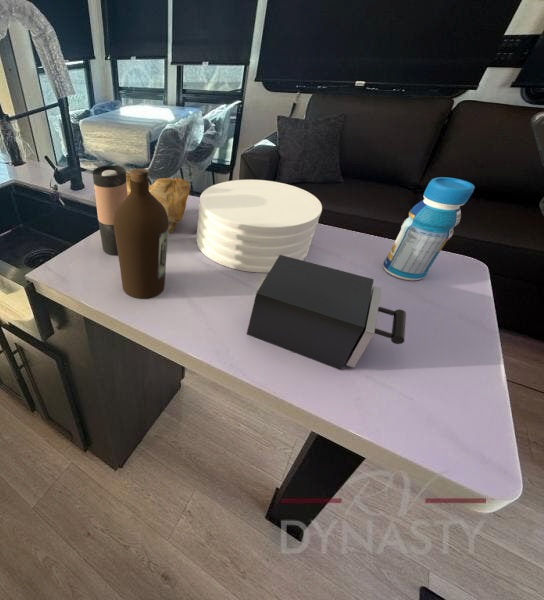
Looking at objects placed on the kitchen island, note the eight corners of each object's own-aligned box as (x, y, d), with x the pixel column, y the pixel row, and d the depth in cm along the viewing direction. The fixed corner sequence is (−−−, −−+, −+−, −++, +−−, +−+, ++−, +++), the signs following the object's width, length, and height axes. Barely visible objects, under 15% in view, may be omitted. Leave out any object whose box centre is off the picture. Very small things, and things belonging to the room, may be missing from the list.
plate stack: (332, 263, 77) (350, 217, 70) (220, 280, 73) (227, 234, 66) (272, 213, 99) (281, 175, 91) (183, 225, 95) (185, 185, 87)
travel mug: (136, 245, 87) (132, 168, 74) (120, 259, 82) (112, 178, 69) (113, 238, 90) (105, 163, 77) (96, 251, 85) (84, 173, 72)
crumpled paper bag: (208, 224, 96) (214, 171, 88) (176, 243, 85) (179, 185, 77) (146, 208, 108) (146, 160, 100) (111, 223, 97) (108, 170, 89)
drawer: (390, 330, 59) (412, 296, 54) (385, 379, 51) (409, 344, 46) (282, 296, 67) (292, 264, 62) (263, 334, 59) (273, 300, 54)
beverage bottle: (396, 283, 71) (448, 192, 58) (373, 261, 77) (415, 176, 64) (434, 280, 71) (494, 190, 58) (408, 259, 77) (457, 174, 65)
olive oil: (115, 299, 69) (102, 181, 54) (124, 271, 78) (115, 161, 62) (165, 302, 68) (167, 182, 52) (169, 273, 76) (171, 162, 60)
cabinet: (352, 320, 62) (373, 279, 56) (340, 370, 54) (364, 327, 47) (269, 294, 69) (279, 254, 63) (246, 334, 60) (256, 292, 54)
